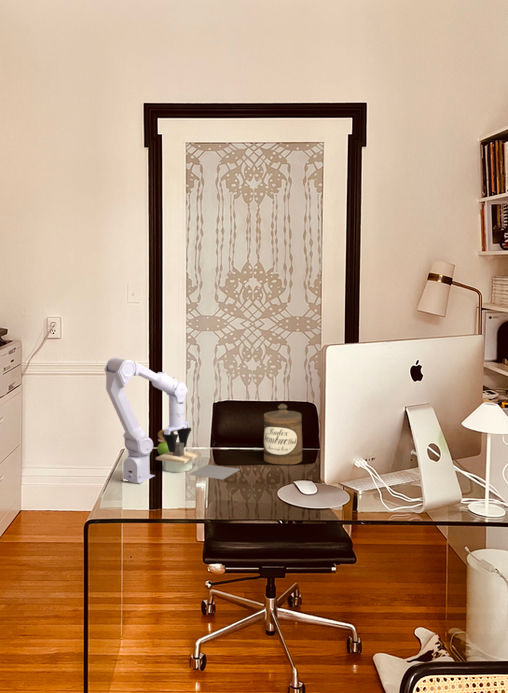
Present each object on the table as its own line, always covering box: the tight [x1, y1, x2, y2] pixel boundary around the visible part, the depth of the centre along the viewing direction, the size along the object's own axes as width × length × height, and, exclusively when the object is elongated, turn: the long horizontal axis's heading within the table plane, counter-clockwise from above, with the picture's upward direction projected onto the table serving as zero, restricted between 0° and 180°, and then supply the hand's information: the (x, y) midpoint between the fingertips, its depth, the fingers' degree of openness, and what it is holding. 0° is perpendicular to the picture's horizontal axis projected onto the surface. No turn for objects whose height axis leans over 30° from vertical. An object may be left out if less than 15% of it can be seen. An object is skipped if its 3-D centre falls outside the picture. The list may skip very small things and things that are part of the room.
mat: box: [188, 464, 241, 481], centre depth 258 cm, size 14×14×1 cm
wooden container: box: [263, 403, 303, 466], centre depth 274 cm, size 15×15×22 cm
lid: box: [155, 441, 202, 463], centre depth 262 cm, size 12×12×5 cm
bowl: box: [162, 459, 193, 473], centre depth 263 cm, size 10×10×5 cm
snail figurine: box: [157, 429, 169, 456], centre depth 282 cm, size 5×6×12 cm
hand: (177, 449), depth 262 cm, fingers open, 7 cm apart
